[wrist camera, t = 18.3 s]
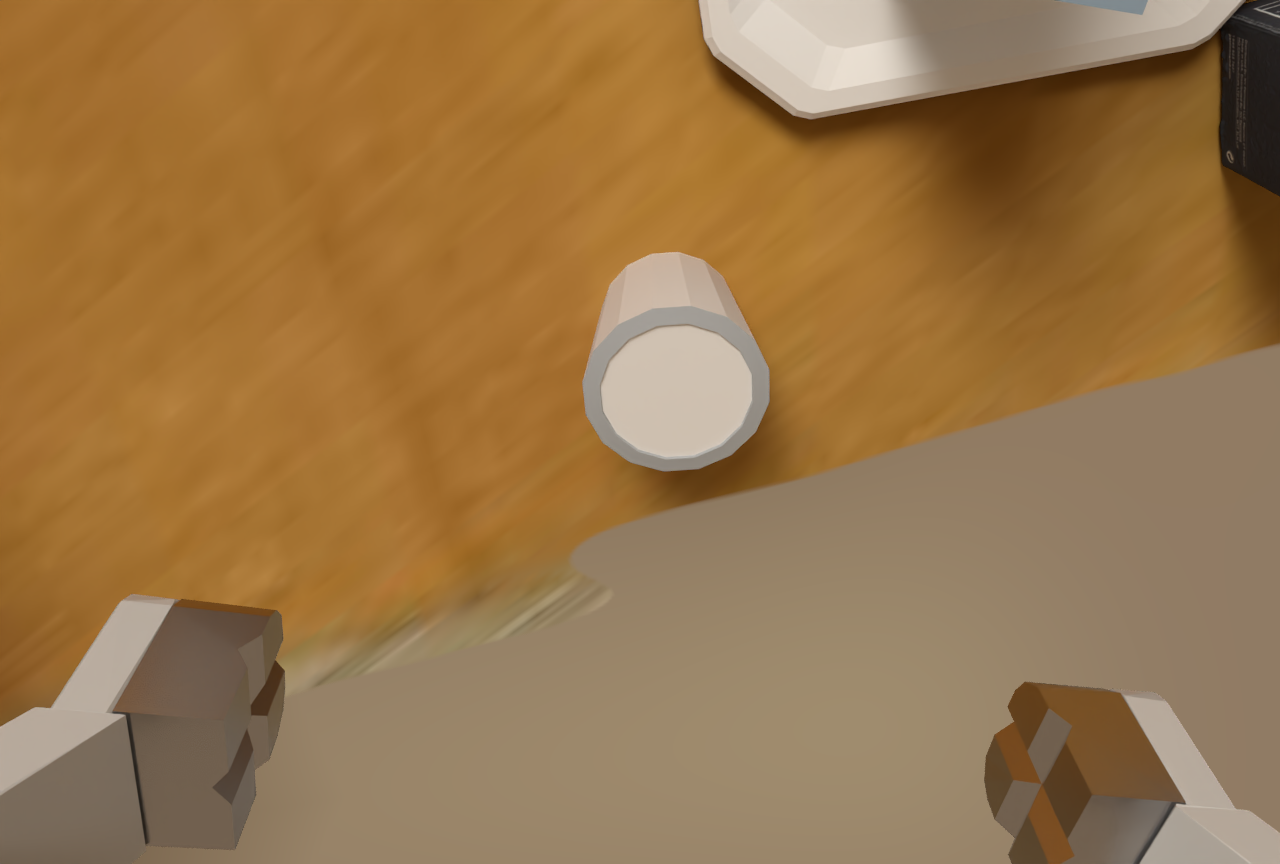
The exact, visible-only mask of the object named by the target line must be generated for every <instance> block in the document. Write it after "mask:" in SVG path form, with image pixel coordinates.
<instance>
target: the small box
mask: <svg viewBox="0 0 1280 864" xmlns="http://www.w3.org/2000/svg"><path fill="white" fill-rule="evenodd" d="M1221 35H1222V36H1221V39H1222V41H1223V51H1222V54H1221V56H1222V58H1223V77H1222V82H1223V86H1222V101H1221V102H1222V121H1221V123H1220V135H1221V149H1222V164H1223V166H1225V167H1227V168H1229V169H1231V170H1233V171H1235V172H1237V173H1238V174H1240V175H1242V176H1244V177H1246V178H1248V179H1250V180H1251V181H1253V182H1255V183H1256V184H1258V185H1260V186H1262V187H1264V188H1266V189H1268V190H1269V191H1271V192H1273V193H1275V194H1277V195H1278V196H1280V0H1257V1H1253V2H1250V3H1247V4H1244V5H1241V6H1240V7H1239V8H1238V9H1237V10H1236V11H1235V13H1234V14H1233V15H1232V16H1231V17H1230V18H1229V19H1228V20H1227V21H1226V22H1225V23H1224V24H1223V26H1222V27H1221Z"/></svg>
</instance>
